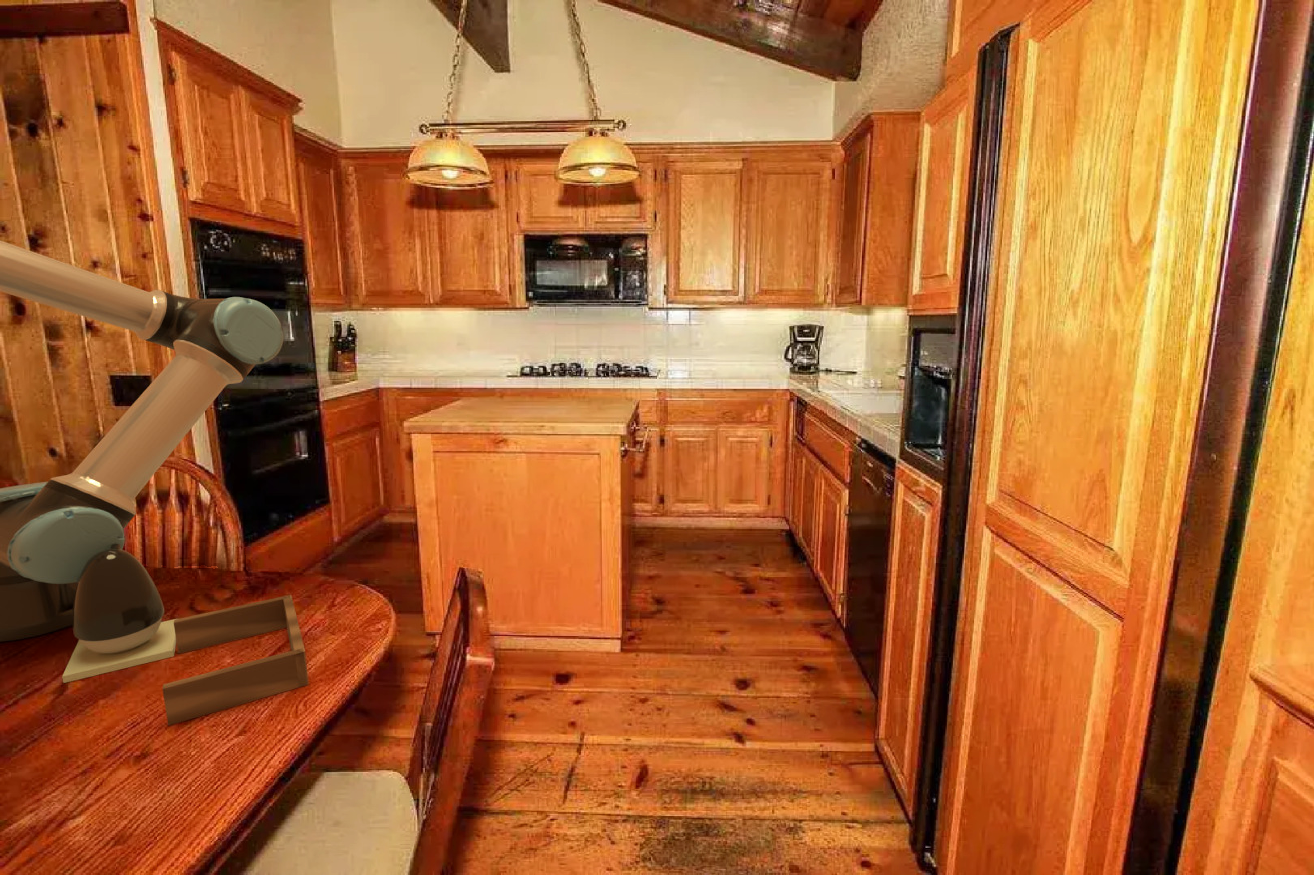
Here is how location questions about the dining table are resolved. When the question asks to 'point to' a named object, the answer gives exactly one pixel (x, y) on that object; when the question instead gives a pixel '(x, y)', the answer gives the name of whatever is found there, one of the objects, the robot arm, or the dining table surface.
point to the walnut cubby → (241, 679)
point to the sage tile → (121, 655)
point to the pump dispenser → (115, 603)
